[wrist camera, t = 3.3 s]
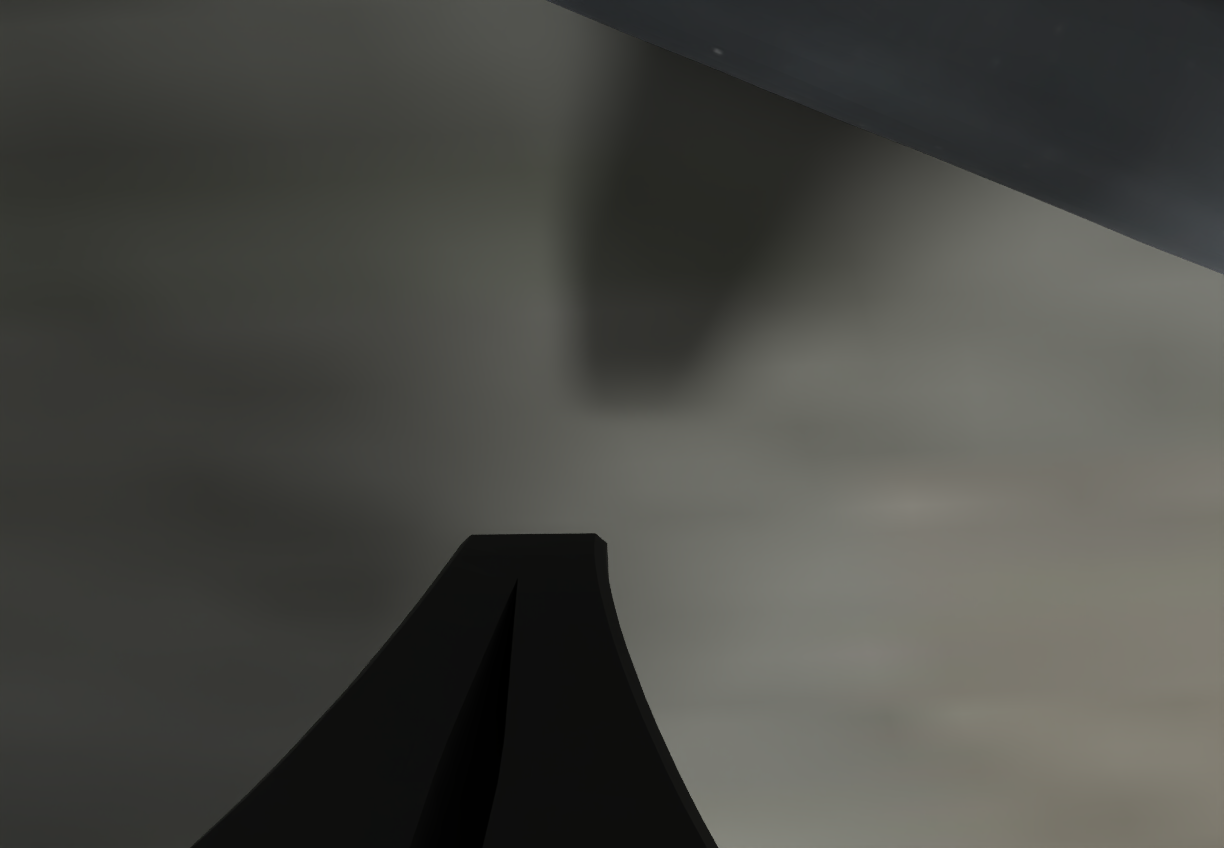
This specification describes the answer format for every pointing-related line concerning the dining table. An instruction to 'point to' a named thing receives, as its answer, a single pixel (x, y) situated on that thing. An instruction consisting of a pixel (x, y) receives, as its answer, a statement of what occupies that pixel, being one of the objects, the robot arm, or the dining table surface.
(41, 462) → the dining table surface
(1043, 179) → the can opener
